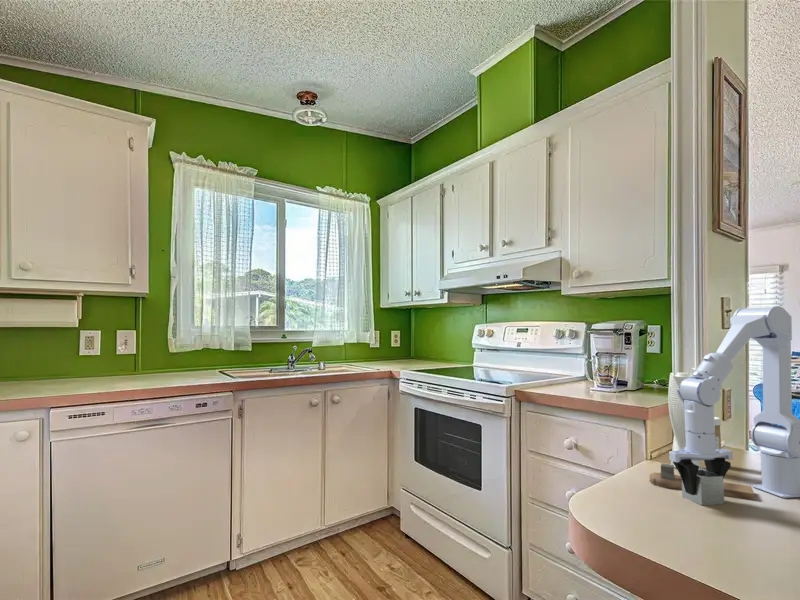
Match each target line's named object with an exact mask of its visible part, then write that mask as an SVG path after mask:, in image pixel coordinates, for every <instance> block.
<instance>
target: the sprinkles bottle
mask: <svg viewBox="0 0 800 600" xmlns="http://www.w3.org/2000/svg"><path fill="white" fill-rule="evenodd" d="M714 420H715V443H716V449H723V448H722V443H721V442H722V437H721V435H722V434H721V425H722V424H721V422H722V421H721V418H720V417H717V416H714ZM703 464H704V465H705V463H704V462H703Z"/></svg>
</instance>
